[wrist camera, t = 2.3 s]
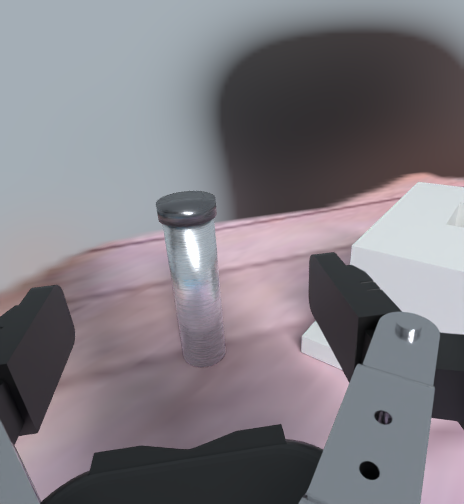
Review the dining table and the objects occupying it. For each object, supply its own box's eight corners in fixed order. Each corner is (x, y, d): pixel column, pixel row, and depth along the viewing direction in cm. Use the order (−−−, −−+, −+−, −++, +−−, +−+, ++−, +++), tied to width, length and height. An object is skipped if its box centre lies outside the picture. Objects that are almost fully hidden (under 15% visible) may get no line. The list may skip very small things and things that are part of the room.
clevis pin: (170, 355, 28) (143, 204, 22) (202, 330, 30) (185, 188, 25) (206, 376, 26) (186, 215, 20) (237, 347, 28) (227, 196, 23)
